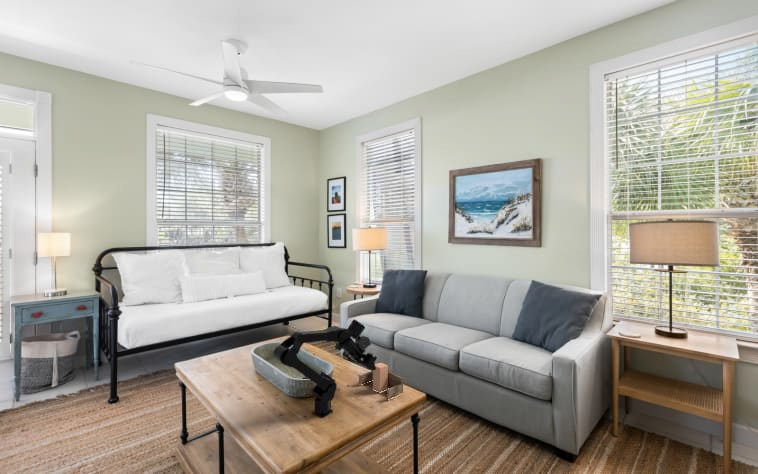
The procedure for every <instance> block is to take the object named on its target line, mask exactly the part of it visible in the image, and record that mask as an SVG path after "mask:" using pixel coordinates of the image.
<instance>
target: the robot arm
mask: <svg viewBox="0 0 758 474" xmlns="http://www.w3.org/2000/svg"><path fill="white" fill-rule="evenodd" d="M365 330H366V327H365V325H364V324H362V323H361V322H359V321H358V320H356V319H352V321H351V323H350V324H349V326H348V328H345V327H340V326H337V325H333V326H330V327H327V328H326V329H321V330H320V329H319V330H318V329H317V330H308V331H294V332H293V333H292V334H291V336H289V337H288V338H286V339H284V340H283V341H282V342H281V343H280V344H279V345H278V346H276V347H275V348H274V349H273V353H272V358H273V359H274V360H276V361H277V362H279V363H280V364H282V365H284V366H285V367H286V366H287V367H289V368H293V369H295V371H297V372H298V373H300V374H301V375H302V376H303V377H307V378H308V379H310V380H311V381H312V382H313V383H314V387H313V388H312V390H311V395H312V396H313V397H315V398H314V410H312V411H311V413H312V414H314V415H315V416H318V417H320V418H325V417H326V416H328V415H330V414H332V413H333V412H334V409H332V401H333V400H334V397H335V395H336V394H335V393H336V391H337V387H338V384H337V382H336V379H334V378H332V377H331V376H330V375H329V374H327V373H325V372H323V371H321V372H320V373H318V372H317V371H315V370H314V369H312V368H311V367H310V366H309V365H307V364H306V363H305V362H303V361H302V360H301V359H299V357H298V354H299V352H300V350H301V347H302V346H303V345H304V344H305V343H315V342H325V341H329V342H335V345H334V347H335V348H334V349H335V350H338V351H342V350H343V352H342V357H343V358H344V359H346V360H348V361H350V362H353V363H355V364H359V365H362V366H363V368H365V369H366V370H371V371H372V370H376V367H375V364H376V361H377V358H378V356H376V354H374V353H373V352H367V353H365V352H366V349H367V348H368V347H369V346H371V345H372V343H371V339H370V337H367V336H365V335H362V334H363V332H364V331H365Z"/></svg>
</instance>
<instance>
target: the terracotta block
mask: <svg viewBox="0 0 758 474" xmlns="http://www.w3.org/2000/svg"><path fill="white" fill-rule="evenodd" d="M374 364H375V367H376V370H373V382H372V390H373V389H374V390H376V391H378V392H381V391H384V390H386V389H388V371H389V365H387V364H385V363H383V362H378V363H374ZM374 390H373V391H374ZM376 391H375V392H376Z"/></svg>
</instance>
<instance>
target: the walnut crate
mask: <svg viewBox="0 0 758 474" xmlns="http://www.w3.org/2000/svg"><path fill="white" fill-rule="evenodd" d="M372 380H373V370H371V371H369V372H365V373H362V374H360V375H358V385H359V384H360V385H361V384H364V383H367V382H369V381H372ZM388 388H389V389H387V391H386V400H387V399H390V398H392V397H395V396H397V395H399V394H401V393H403V394H404V377H403V376H400V375H398V374H396V373H393V372H391V371H389V370H388Z"/></svg>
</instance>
